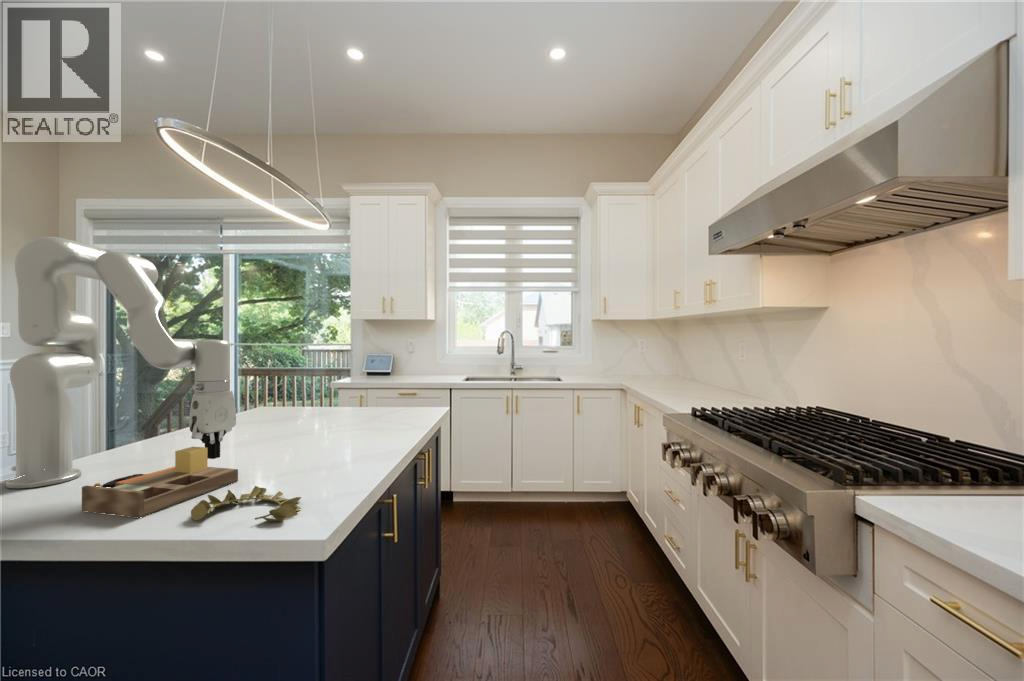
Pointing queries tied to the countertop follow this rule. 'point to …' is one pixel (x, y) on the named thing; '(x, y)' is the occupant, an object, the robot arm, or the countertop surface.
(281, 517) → the headpiece
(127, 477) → the toy gun
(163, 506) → the wooden tray
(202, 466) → the block
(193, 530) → the countertop surface
